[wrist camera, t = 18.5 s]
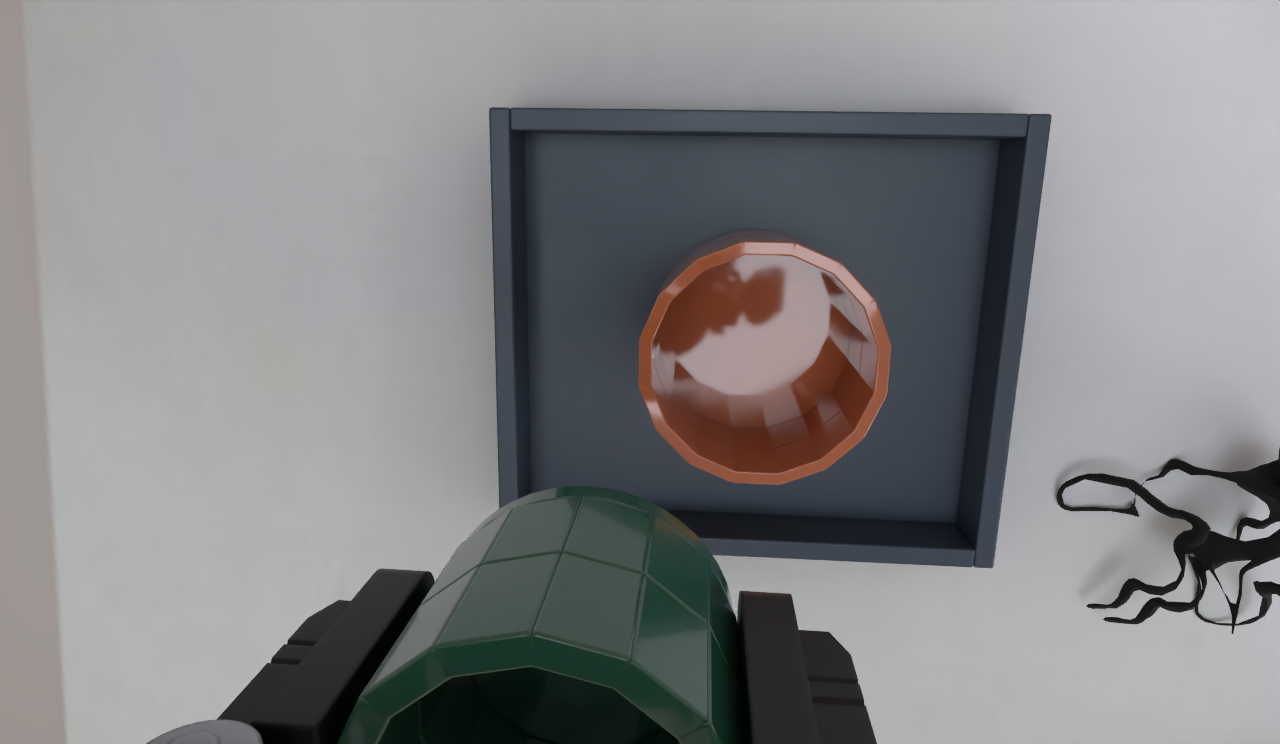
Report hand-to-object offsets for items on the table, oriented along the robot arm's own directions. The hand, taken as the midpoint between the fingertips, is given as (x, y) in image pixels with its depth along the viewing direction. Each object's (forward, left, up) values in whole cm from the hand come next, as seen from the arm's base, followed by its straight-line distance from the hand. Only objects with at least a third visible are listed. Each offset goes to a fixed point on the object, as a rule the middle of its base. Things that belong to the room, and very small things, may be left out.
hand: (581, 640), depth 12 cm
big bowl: (+3, +2, -15) cm, 15 cm away
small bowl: (0, 0, -1) cm, 1 cm away
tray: (+3, +2, -16) cm, 16 cm away
